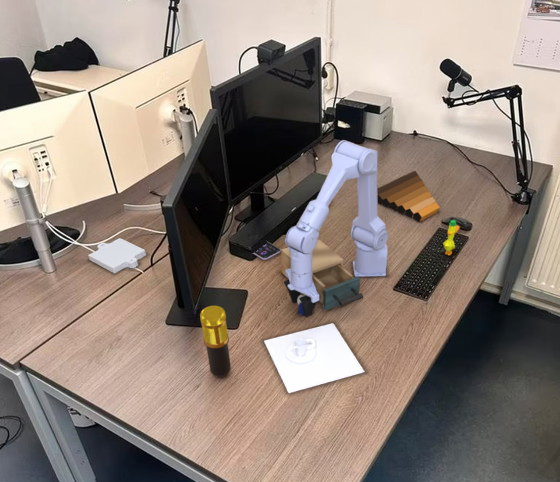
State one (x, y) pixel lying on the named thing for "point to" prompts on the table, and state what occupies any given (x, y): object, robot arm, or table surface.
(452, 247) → the toy figure
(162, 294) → the table surface
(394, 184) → the pan flute
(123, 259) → the mounting plate
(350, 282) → the drawer
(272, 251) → the smartphone
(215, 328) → the gold capped bottle
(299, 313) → the pen
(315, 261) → the cabinet
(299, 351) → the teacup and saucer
